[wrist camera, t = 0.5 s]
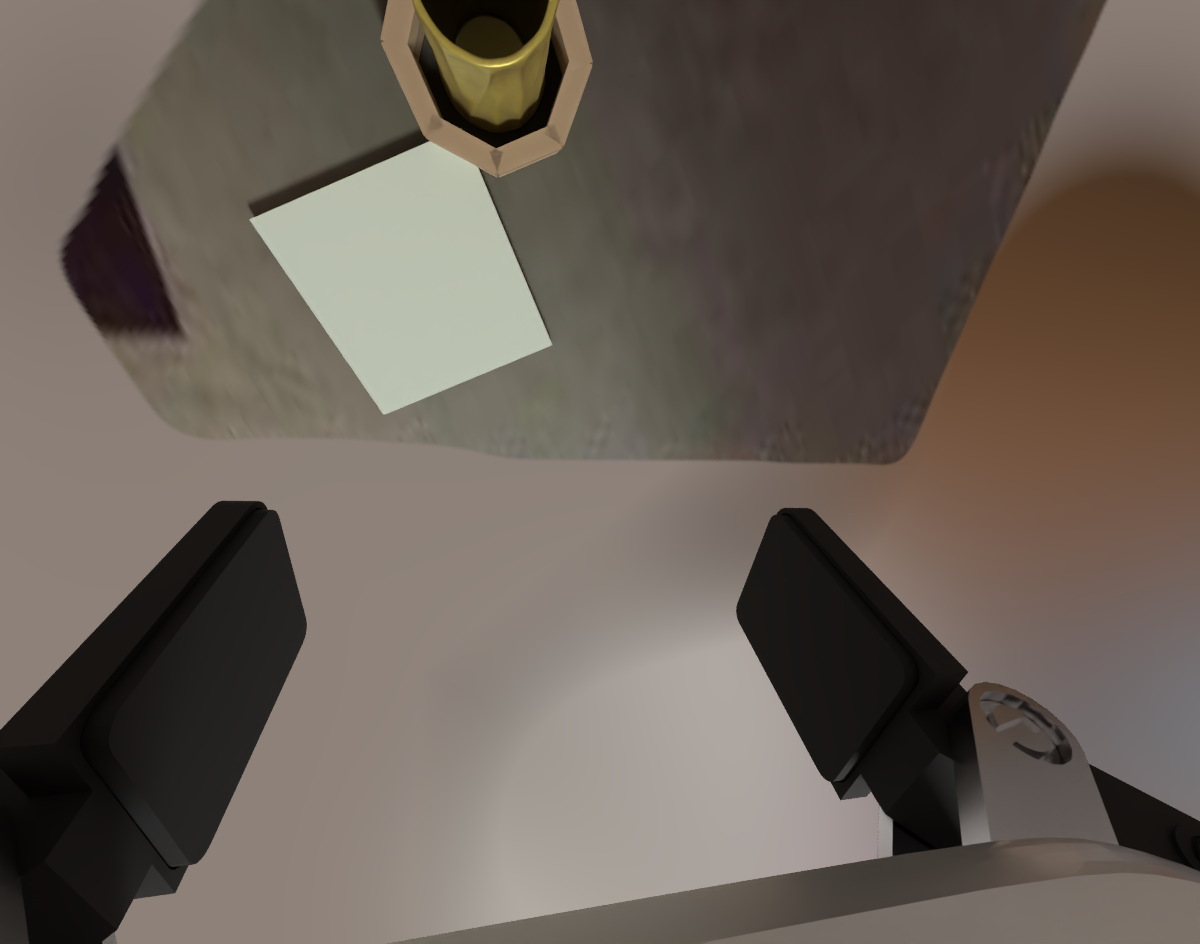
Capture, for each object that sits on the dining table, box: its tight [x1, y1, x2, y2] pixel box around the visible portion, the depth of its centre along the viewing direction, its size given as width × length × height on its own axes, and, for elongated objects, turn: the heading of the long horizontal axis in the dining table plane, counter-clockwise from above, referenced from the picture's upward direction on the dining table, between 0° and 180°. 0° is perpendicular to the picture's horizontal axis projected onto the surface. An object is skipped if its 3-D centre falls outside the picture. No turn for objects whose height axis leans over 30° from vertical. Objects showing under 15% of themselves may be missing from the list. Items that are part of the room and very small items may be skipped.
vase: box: [412, 0, 560, 133], centre depth 21 cm, size 6×6×14 cm
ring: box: [381, 0, 593, 178], centre depth 25 cm, size 10×10×4 cm
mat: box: [249, 128, 552, 415], centre depth 32 cm, size 14×14×1 cm
